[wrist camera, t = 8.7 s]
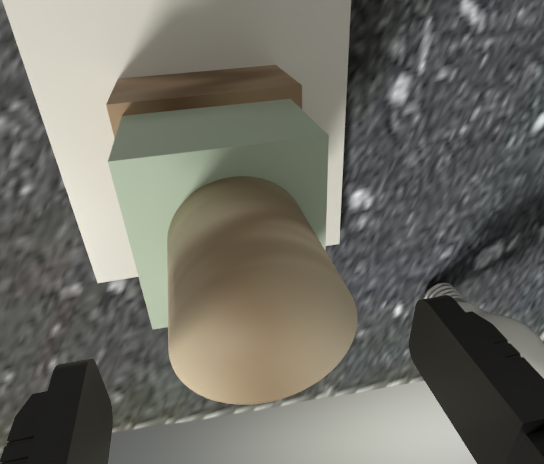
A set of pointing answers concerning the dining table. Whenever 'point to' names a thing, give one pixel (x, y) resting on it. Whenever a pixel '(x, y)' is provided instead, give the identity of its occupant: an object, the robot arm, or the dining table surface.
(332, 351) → the birch cylinder
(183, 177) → the sage block
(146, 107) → the walnut block
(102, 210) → the base board
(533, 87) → the dining table surface
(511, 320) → the lightbulb
